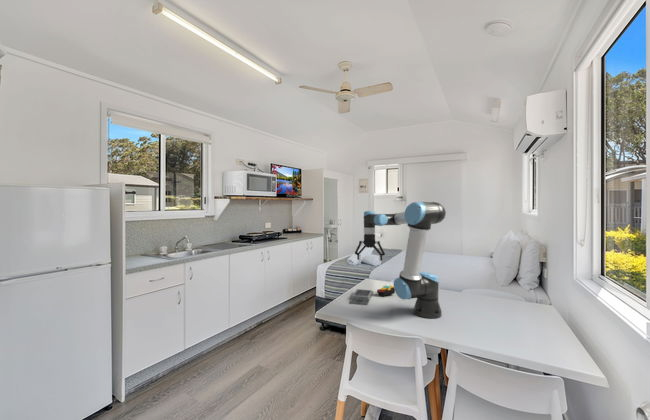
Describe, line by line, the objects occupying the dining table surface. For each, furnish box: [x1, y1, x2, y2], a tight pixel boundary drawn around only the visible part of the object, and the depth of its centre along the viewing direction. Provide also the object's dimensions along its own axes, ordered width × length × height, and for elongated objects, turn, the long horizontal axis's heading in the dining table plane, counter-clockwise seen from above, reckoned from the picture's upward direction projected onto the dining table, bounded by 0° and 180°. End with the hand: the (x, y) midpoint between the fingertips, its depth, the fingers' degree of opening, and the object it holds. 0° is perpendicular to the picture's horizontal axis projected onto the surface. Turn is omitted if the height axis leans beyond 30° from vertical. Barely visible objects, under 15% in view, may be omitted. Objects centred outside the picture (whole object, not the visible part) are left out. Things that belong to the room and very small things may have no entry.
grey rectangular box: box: [349, 288, 374, 306], centre depth 190 cm, size 28×11×3 cm, turn 162°
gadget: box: [376, 285, 396, 297], centre depth 195 cm, size 6×13×6 cm, turn 114°
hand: (369, 265), depth 192 cm, fingers open, 13 cm apart
